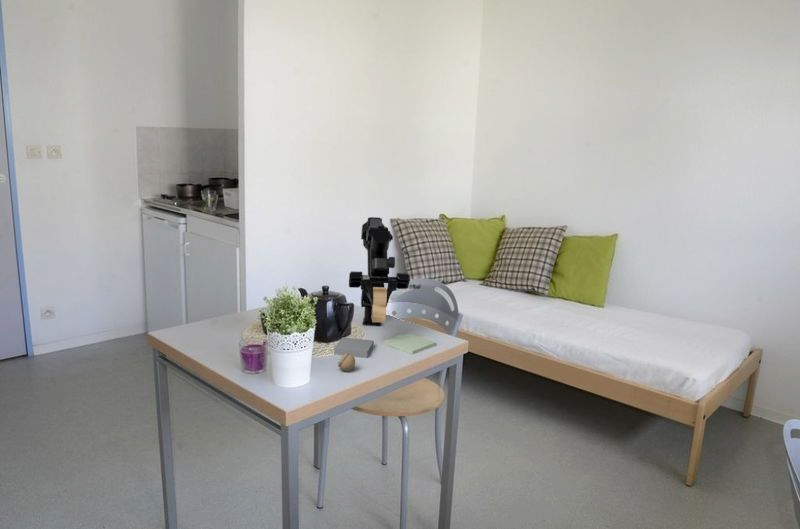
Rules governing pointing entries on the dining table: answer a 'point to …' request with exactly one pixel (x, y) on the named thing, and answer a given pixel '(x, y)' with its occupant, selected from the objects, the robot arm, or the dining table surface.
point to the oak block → (379, 304)
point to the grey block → (354, 347)
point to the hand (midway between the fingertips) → (379, 304)
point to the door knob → (346, 362)
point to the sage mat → (409, 343)
